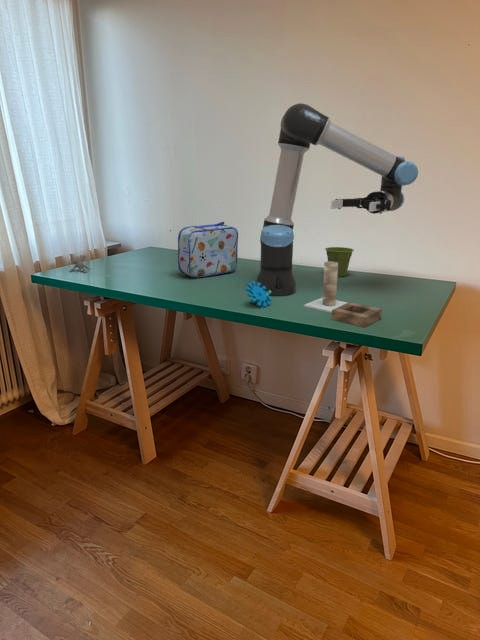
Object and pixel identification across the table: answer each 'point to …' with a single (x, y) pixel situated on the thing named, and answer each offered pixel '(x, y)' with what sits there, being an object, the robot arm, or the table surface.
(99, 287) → the table surface
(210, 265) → the lunch box
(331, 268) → the dowel
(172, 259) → the table surface
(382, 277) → the table surface
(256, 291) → the gear
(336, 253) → the plant pot
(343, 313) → the pocket block
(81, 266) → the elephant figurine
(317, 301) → the pad
